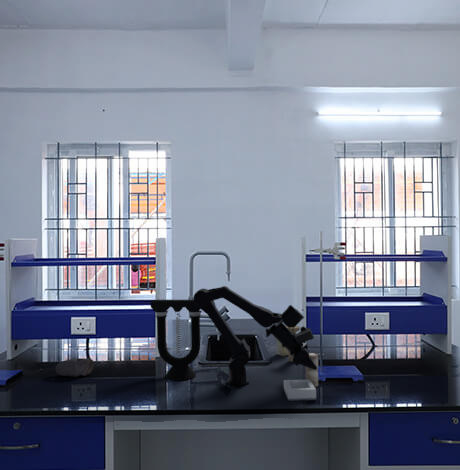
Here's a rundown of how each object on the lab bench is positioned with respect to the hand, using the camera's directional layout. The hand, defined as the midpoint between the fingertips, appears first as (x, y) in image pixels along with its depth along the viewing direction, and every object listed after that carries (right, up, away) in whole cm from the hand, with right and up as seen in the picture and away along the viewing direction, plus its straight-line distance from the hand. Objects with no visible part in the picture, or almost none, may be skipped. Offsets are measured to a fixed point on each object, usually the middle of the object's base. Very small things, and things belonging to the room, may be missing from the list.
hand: (315, 366), depth 153 cm
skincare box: (-6, -7, +39) cm, 40 cm away
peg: (-1, -7, 0) cm, 7 cm away
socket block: (-7, -7, -9) cm, 14 cm away
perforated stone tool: (-94, -8, +14) cm, 96 cm away
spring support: (-53, -8, +12) cm, 54 cm away
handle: (-4, -7, +28) cm, 29 cm away
